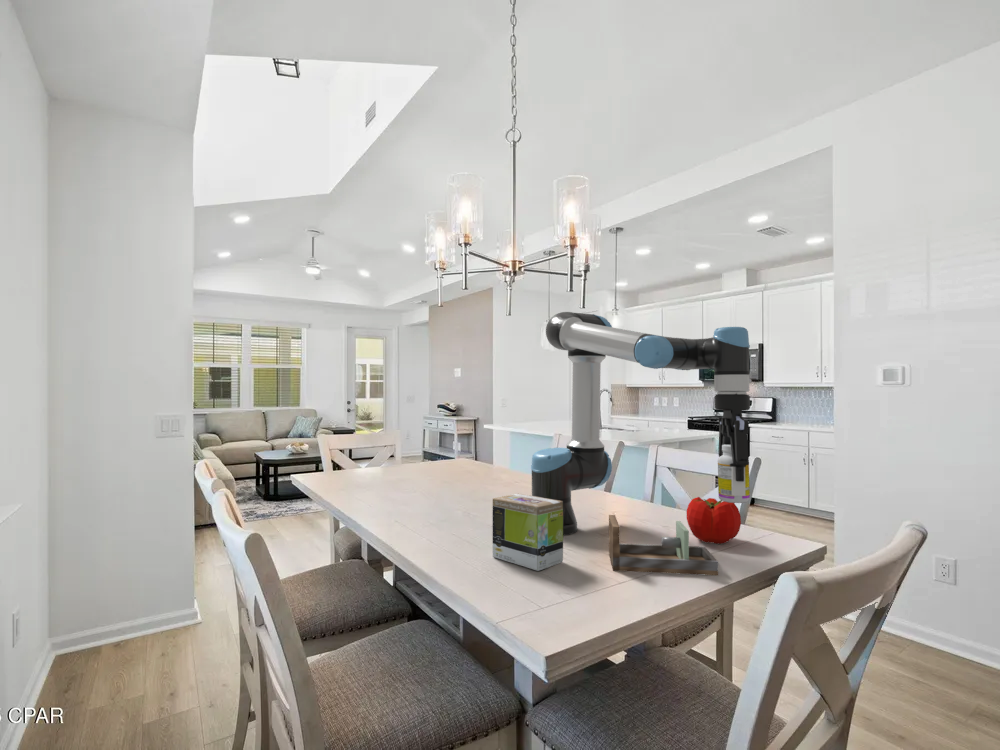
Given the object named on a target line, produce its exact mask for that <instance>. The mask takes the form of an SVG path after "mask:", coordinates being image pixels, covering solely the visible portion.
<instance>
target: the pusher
mask: <svg viewBox="0 0 1000 750" xmlns="http://www.w3.org/2000/svg"><path fill="white" fill-rule="evenodd" d="M689 533H690V532H689V530H688V529H687V527H686V526H685V525H684V524H683V522H682V521H680V520H675V537H672V536H662V537H661V545H662V547H663V548H676V554H677V556H678V557H679V559H689V546H690V545H689V543H690V535H689Z"/></svg>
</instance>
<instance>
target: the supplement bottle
mask: <svg viewBox="0 0 1000 750" xmlns="http://www.w3.org/2000/svg"><path fill="white" fill-rule="evenodd" d="M722 450H723V455H722V456H720V457H719V456H718V459H717V484H718V485H717V486H718V487H717V488H718V491H717V492H718V499H719V501H720V500H722V502H723V501H724V502H729V503H734V504H746V503H749V502H750V499H751V498H750V497H751V492H750V490H751V489H750V464H749V465H746V467H745V496H733V495H732V473H731V467H730V464H731V463H733V459H732V451H731V445H722Z"/></svg>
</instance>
